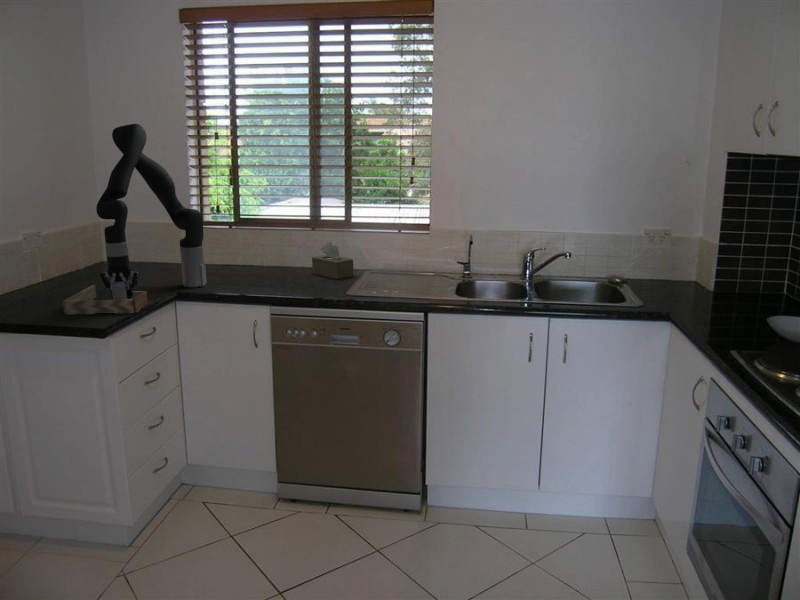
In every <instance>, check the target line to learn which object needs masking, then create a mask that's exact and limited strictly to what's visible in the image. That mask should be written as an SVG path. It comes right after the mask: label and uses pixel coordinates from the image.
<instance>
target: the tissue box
mask: <svg viewBox="0 0 800 600" xmlns="http://www.w3.org/2000/svg"><path fill="white" fill-rule="evenodd" d="M319 250H320V251H321V252H322V253H323V254H324V255H317V256H313V257H311V263H312V264H311V267H312V275H317V276H320V277H326V278H331V279H334V280H342V279H345V278H350V277H351V278H352V277H354V259H353V258H350V257H349V258H347V257H342V256H340V252H339V248H338V246H337V245H336V244H335V245H333V243H332V242H331V241H329V242H327V243H326V244H325V245H323V246H322V247H321V248H320V249H319Z"/></svg>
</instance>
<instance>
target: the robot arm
mask: <svg viewBox="0 0 800 600" xmlns="http://www.w3.org/2000/svg"><path fill="white" fill-rule="evenodd" d="M111 136H112V141H113V143H114V144H115V146H116V148H118V150H119V151H120V152H121V153H122V154H123V155H122V156H121V158H120V159H119V160H118V161H117V163H116V164H115V166H114V167H113V169H112V171H111V173H110V175H109V179H108V183H107V186H106V188H105V190H104V192H103V193H102V195H101V196H100V198H99V199H98V201H97V204H96V214H97V216H98V217H99V219H102V220H114V222H113V225H112V224H111V225H109V226H106V227H104V239H105V255H106V263H107V271H103V272H101V273H100V274H99V276H100V278H101V281H102V283H103V285H104V287H105V289H110V291H111V297H112V299H113V295H112V287H111V284H112V283H114V282H115V281H123V282H125V284H126V288H127V298H128V299H130V298H131V297H132V296H133V294H132V291H133V288H135V287H137V286H138V280H139V275H140V272H139V271H138V270H136V271H133V270H132V269H131V267H130V266H131V265H130V257H129V249H128V248H129V247H128V243H127V236H126V225H127V219H128V213H129V209H128V205H127V204H126V202H125V201H123V200H121V199H124V198H125V197H126V196H127V195H128V190H129V187H130V183H131V178H132V176H133V173H134V170H135V169H136V171H137V172H138V173H139V175H140V176H141V177H142V179H143V180H144V181H145V184H147V186H148V187H149V188H150V190H151V191H152V193H153V194H154V195H155V196H156V198H158V200H159V202H160V203H161V205H162V206H163V208H164V209H165V211H166V212H167V214H168V216H169V217H170V219H171V221H172V222H173V225H174V226H175V227H177V229H179V230H183V231H185V236H184V238H182V239H180V240H179V252H180V263H181V273H182V283H183V287H184V288H198V287H199V286H200V287H205V285H207V283H208V282H207V281H208V280H207V271H206V269H207V268H206V262H205V260H204V251H203V240H204V220H203V216H202V213H201V212H200V210H198V209H195V208H186V207H185V206H184V205H183V204H182V203H181V201H180V200H179V199H178V197H177V193H176V192H177V191H176V185H175V181H174V180H173V178H172V177H171V176H170V174H169V172H168V171H167V169H165V167H164V166H162V165H161V164H160V163H158V162H157V161H155V160H153V159H152V158H149V156H147V155H145V154H144V153H143V150H144V148H145V145H146V143H147V133H146V130H145V129H144V127H143V126H142V125H140V124H139V123H131V124H125V125H120V126H117V127H115V128H114V129H113V130H112V132H111ZM130 275H131V277H132V281H131V279H130ZM109 277H110V278H111V281H110V279H109Z"/></svg>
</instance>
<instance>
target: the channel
mask: <svg viewBox="0 0 800 600" xmlns="http://www.w3.org/2000/svg"><path fill="white" fill-rule="evenodd" d="M96 290H97V289H96V284H91V285H90V286H88V287H86V288H84V289H82V290H81V291H79V292H77V293H75V294H73V295H71V296H70V297H68V298H65V299H64V300H63V301H62V306H63V307H62V308H63V315H64V314H66V315H96V314H95V313H115V314H135V313H138V312H140V311H141V310H142V309H143V308H145V307H146V306H147V305H148V304H149V303H148V302H149V301H148V293H147V292H148V291H145V290H139V291H138V290H137V291H136V290H134V291H133V290H132V294H133V296H132V299H125V300H113V299H95V298H97V291H96ZM146 304H147V305H146ZM145 305H146V306H145ZM144 306H145V307H144ZM141 308H142V309H141ZM140 309H141V310H140ZM119 312H120V313H119ZM134 312H135V313H134Z"/></svg>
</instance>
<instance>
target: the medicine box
mask: <svg viewBox="0 0 800 600" xmlns="http://www.w3.org/2000/svg"><path fill="white" fill-rule="evenodd" d="M110 284H111V283H110ZM111 287H112V293H111V296H112V295H113V298H112V300H125V299H128V298H127V288H126V284H125V282H123V281H115V282H114V283H112V284H111ZM130 299H132V297H131V298H130Z"/></svg>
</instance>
